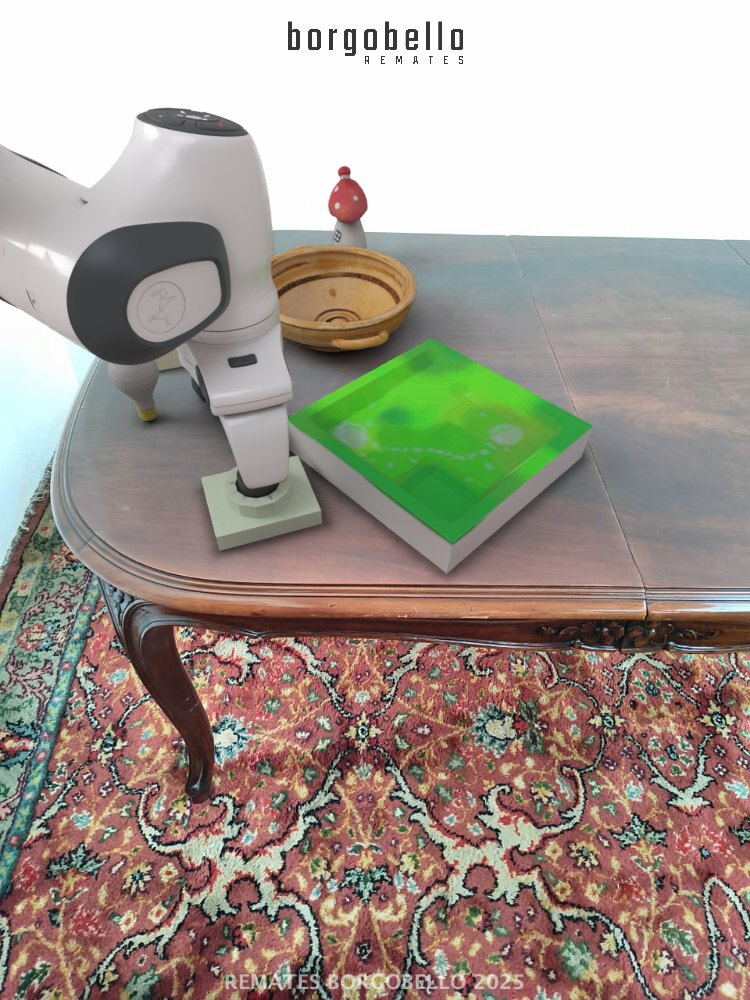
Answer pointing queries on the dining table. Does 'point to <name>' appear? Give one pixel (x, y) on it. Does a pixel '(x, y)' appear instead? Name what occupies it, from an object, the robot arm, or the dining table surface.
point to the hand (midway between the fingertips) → (247, 454)
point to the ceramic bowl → (340, 296)
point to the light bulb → (137, 385)
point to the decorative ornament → (348, 211)
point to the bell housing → (260, 507)
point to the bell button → (254, 489)
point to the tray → (438, 448)
